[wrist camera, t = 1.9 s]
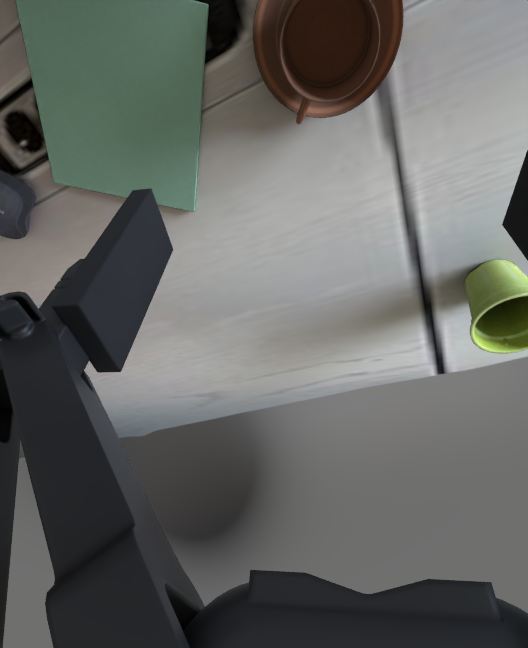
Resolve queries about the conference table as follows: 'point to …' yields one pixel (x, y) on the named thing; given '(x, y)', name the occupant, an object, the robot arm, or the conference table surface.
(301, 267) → the conference table surface
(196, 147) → the mat
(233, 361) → the conference table surface
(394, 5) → the cup and saucer
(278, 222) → the conference table surface
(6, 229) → the computer mouse
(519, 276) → the plant pot
